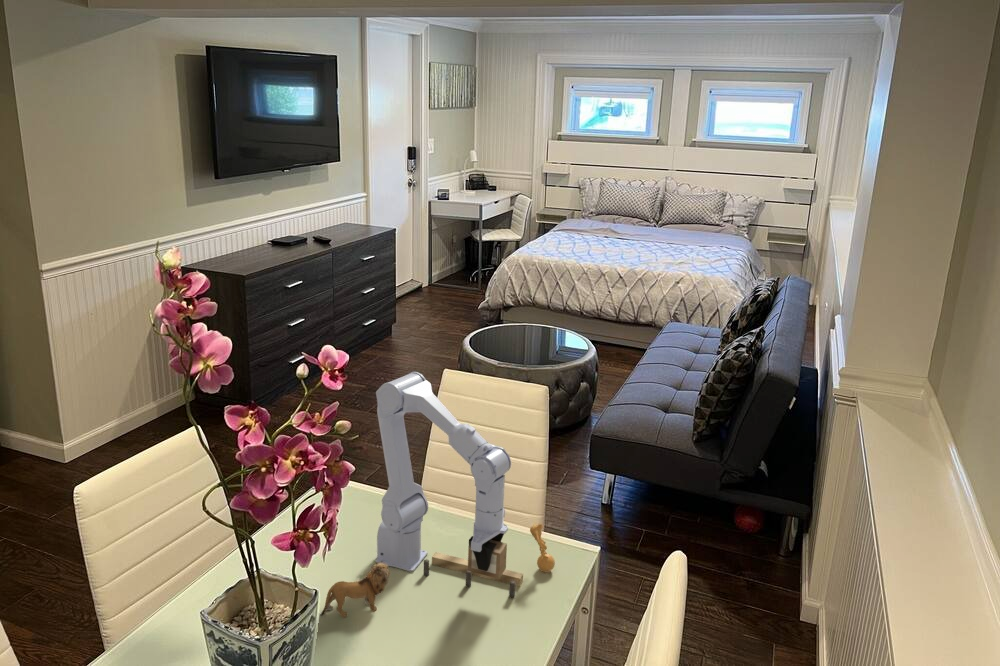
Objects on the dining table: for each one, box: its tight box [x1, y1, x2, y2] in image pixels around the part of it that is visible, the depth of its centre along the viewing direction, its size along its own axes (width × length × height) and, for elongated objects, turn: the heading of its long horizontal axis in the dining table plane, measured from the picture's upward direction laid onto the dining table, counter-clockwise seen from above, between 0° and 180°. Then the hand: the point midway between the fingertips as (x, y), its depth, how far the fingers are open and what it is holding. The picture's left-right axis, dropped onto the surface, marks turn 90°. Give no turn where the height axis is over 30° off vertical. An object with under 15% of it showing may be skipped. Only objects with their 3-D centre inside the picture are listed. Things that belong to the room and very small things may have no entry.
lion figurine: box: [319, 563, 390, 618], centre depth 159 cm, size 15×5×9 cm, turn 118°
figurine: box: [529, 523, 556, 573], centre depth 174 cm, size 8×6×12 cm
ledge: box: [423, 551, 524, 599], centre depth 171 cm, size 21×7×4 cm, turn 70°
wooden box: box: [467, 540, 508, 579], centre depth 163 cm, size 7×4×6 cm, turn 70°
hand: (487, 563), depth 163 cm, fingers closed on wooden box, 4 cm apart
